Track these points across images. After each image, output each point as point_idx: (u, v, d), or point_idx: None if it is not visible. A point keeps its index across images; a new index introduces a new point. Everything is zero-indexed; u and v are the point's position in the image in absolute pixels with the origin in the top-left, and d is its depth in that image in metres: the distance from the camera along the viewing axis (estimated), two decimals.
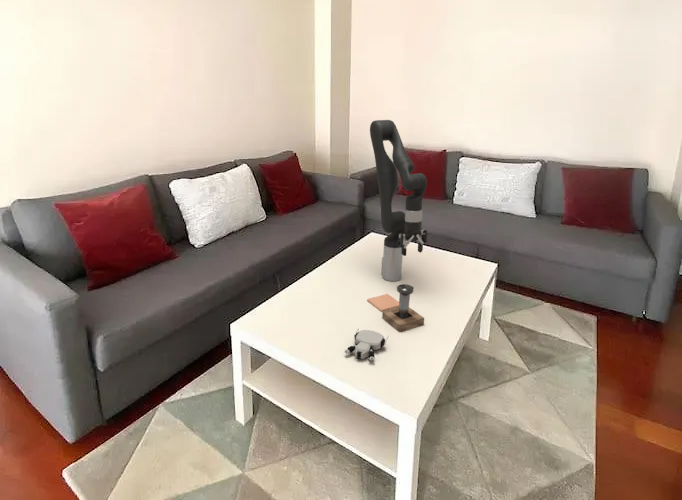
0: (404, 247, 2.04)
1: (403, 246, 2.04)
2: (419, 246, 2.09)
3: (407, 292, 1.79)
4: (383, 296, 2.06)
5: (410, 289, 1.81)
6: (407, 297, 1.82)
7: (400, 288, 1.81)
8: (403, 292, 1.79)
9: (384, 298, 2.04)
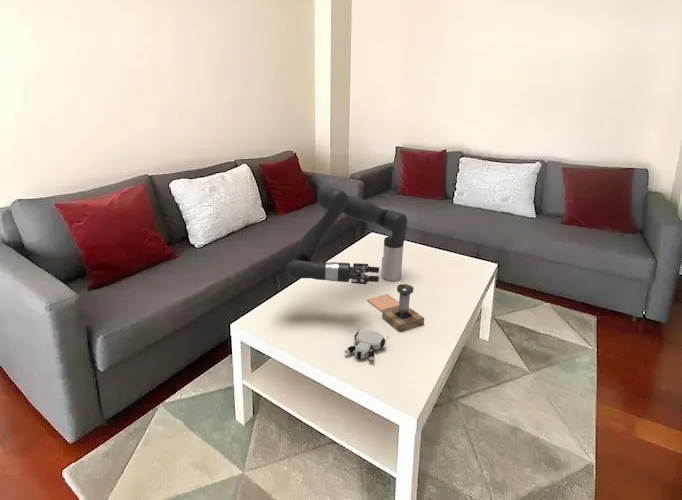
0: None
1: None
2: None
3: (407, 292, 1.79)
4: (383, 296, 2.06)
5: (410, 289, 1.81)
6: (407, 297, 1.82)
7: (400, 288, 1.81)
8: (403, 292, 1.79)
9: (384, 298, 2.04)
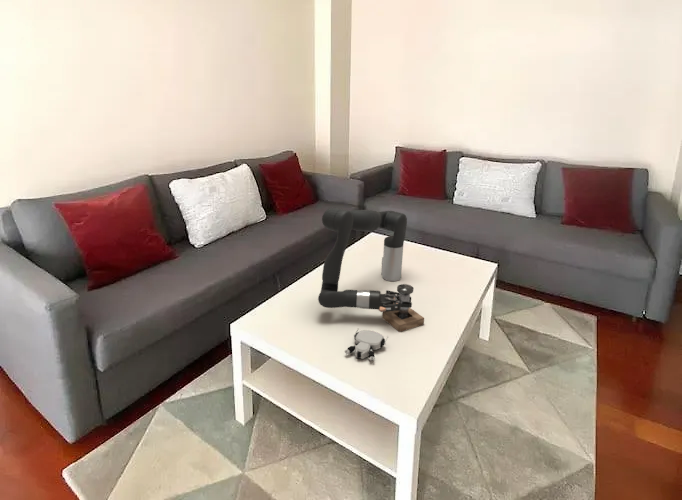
0: None
1: None
2: None
3: (407, 292, 1.79)
4: None
5: (410, 289, 1.81)
6: (407, 297, 1.82)
7: (400, 288, 1.81)
8: (403, 292, 1.79)
9: None
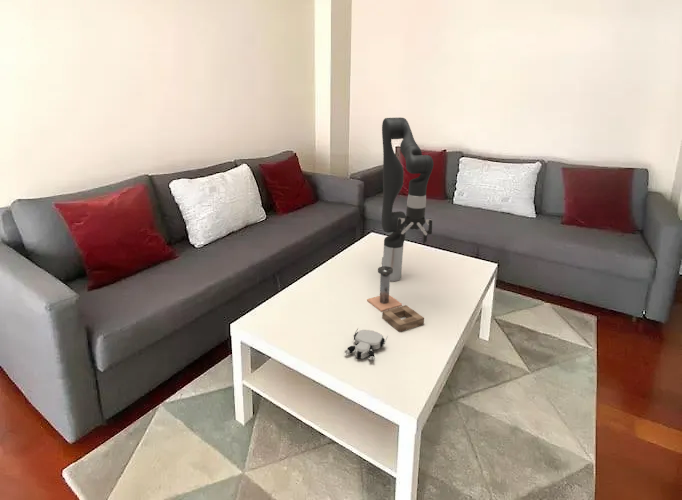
0: (401, 233, 1.90)
1: (401, 231, 1.90)
2: (423, 236, 1.91)
3: (387, 272, 1.93)
4: None
5: (390, 270, 1.95)
6: (387, 277, 1.95)
7: (380, 269, 1.95)
8: (383, 272, 1.93)
9: None
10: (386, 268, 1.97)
